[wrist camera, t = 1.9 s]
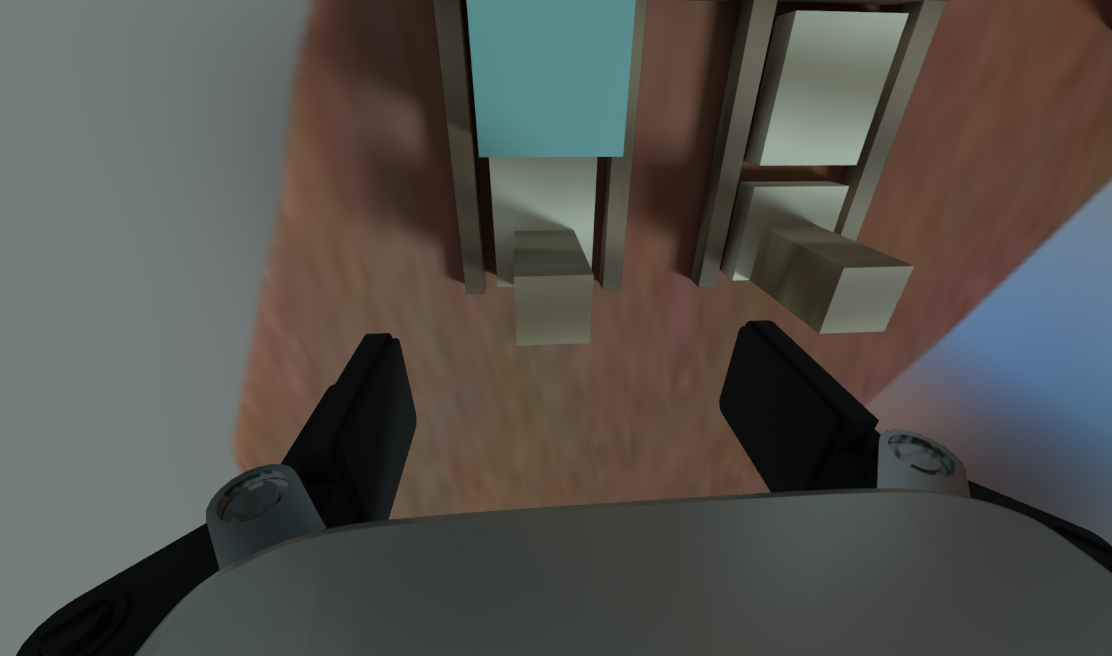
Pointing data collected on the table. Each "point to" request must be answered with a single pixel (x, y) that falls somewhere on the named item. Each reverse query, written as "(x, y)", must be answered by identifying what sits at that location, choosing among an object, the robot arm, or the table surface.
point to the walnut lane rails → (740, 115)
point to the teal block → (551, 76)
